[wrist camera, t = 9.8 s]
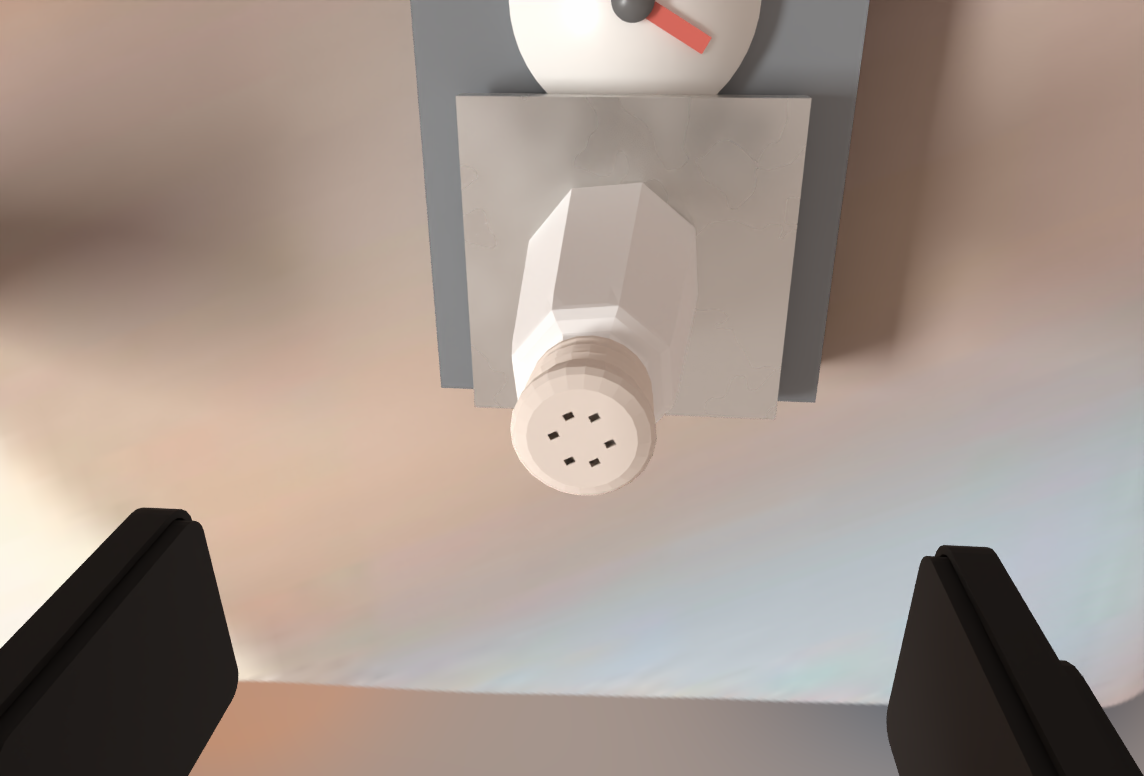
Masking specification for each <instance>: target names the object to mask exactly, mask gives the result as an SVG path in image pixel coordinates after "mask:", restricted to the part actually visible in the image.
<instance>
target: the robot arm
mask: <svg viewBox="0 0 1144 776" xmlns="http://www.w3.org/2000/svg"><path fill="white" fill-rule="evenodd" d="M237 684H238V668H237V664H236V660H235V656H234V652H233V647H232V643H231V639H230V635H229V631H228V627H227V623H226V619H225V615H224V611H223V607H222V603H221V599H220V595H219V591H218V587H217V583H216V579H215V575H214V571H213V567H212V563H211V558H210V554H209V550H208V546H207V542H206V538H205V534H204V530H203V528H202V525H201V524H200V523H199V522H197V521H192V519H191V516H190V515H189V514H188V513H187V511H184V510H182V509H163V508H139V509H137V510H135V511H134V512H133V513H131V514H130V515H129V516H128V517H127V518H126V520H125V521H124V522H123V523H122V524H121V525H120V526H119V527H118V528H117V529H116V530H115V531H114V532H113V533H112V534H111V535H110V536H109V537H108V538H107V539H106V540H105V541H104V542H103V543H102V544H101V545H100V546H99V547H98V548H97V549H96V550H95V552H94V553H93V554H92V555H91V556H90V557H89V558H88V559H87V560H86V561H85V562H84V563H83V564H82V565H81V566H80V567H79V568H78V569H77V570H76V571H75V572H74V573H73V574H72V575H71V576H70V577H69V578H68V579H67V580H66V581H65V583H64V584H63V585H62V586H61V587H60V588H59V589H58V590H57V591H56V592H55V593H54V594H53V595H52V596H51V597H50V598H49V599H48V600H47V601H46V602H45V603H44V604H43V605H42V606H41V607H40V608H39V609H38V610H37V611H36V612H35V613H34V615H33V616H32V617H31V618H30V619H29V620H28V621H27V622H26V623H25V624H24V625H23V626H22V627H21V628H20V629H19V630H18V631H17V632H16V633H15V634H14V635H13V636H12V637H11V638H10V639H9V640H8V641H7V642H6V643H5V644H4V646H3V647H2V648H1V649H0V776H188V775H189V773H190V772H191V770H192V768H193V766H194V765H195V763H196V761H197V759H198V758H199V756H200V754H201V753H202V751H203V749H204V747H205V746H206V744H207V742H208V741H209V739H210V737H211V735H212V734H213V732H214V730H215V728H216V727H217V725H218V723H219V722H220V720H221V718H222V717H223V715H224V713H225V711H226V709H227V708H228V706H229V704H230V703H231V701H232V699H233V697H234V695H235V692H236V689H237ZM887 732H888V738H889V743H890V746H891V750H892V753H893V756H894V759H895V763H896V766H897V769H898V772H899V776H1143V774H1142V773H1141V771H1140V769H1139V768H1138V766H1137V764H1136V763H1135V761H1134V760H1133V758H1132V756H1131V755H1130V753H1129V751H1128V750H1127V748H1126V746H1125V745H1124V743H1123V742H1122V740H1121V738H1120V737H1119V735H1118V733H1117V732H1116V730H1115V728H1114V727H1113V725H1112V724H1111V722H1110V720H1109V719H1108V717H1107V715H1106V714H1105V712H1104V710H1103V709H1102V707H1101V705H1100V704H1099V702H1098V701H1097V699H1096V697H1095V696H1094V694H1093V692H1092V691H1091V689H1090V687H1089V686H1088V684H1087V683H1086V681H1085V679H1084V678H1083V676H1082V675H1081V674H1080V672H1079V671H1078V670H1077V669H1076V667H1075V666H1074V665H1072V664H1070V663H1069V662H1067V661H1063V660H1059V659H1058V657H1057V656H1056V654H1055V652H1054V650H1053V649H1052V647H1051V645H1050V644H1049V642H1048V640H1047V639H1046V637H1045V635H1044V634H1043V632H1042V630H1041V628H1040V627H1039V625H1038V623H1037V622H1036V620H1035V618H1034V617H1033V615H1032V613H1031V612H1030V610H1029V608H1028V606H1027V605H1026V603H1025V601H1024V600H1023V598H1022V596H1021V595H1020V593H1019V591H1018V590H1017V588H1016V586H1015V585H1014V583H1013V581H1012V579H1011V578H1010V576H1009V574H1008V573H1007V571H1006V569H1005V568H1004V566H1003V564H1002V563H1001V561H1000V559H999V557H998V556H997V554H996V553H995V552H994V551H993V549H991V548H988V547H972V546H951V545H943V546H940V547H939V548H938V550H937V551H936V554H935V556H925V557H923V559H922V560H921V563H920V566H919V571H918V575H917V580H916V584H915V589H914V593H913V598H912V602H911V607H910V611H909V615H908V620H907V624H906V629H905V633H904V638H903V642H902V647H901V651H900V656H899V660H898V665H897V669H896V674H895V678H894V683H893V687H892V691H891V696H890V700H889V705H888V710H887Z"/></svg>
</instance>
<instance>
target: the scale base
mask: <svg viewBox="0 0 1144 776" xmlns="http://www.w3.org/2000/svg"><path fill="white" fill-rule="evenodd" d="M410 3H411V16H412V28H413V41H414V53H415V65H416V78H417V90H418V103H419V115H420V128H421V140H422V153H423V165H424V178H425V190H426V203H427V215H428V228H429V240H430V253H431V265H432V277H433V290H434V302H435V315H436V327H437V340H438V352H439V365H440V377H441V388H463V389H474V386H473V370H472V354H471V338H470V321H469V305H468V289H467V273H466V257H465V240H464V224H463V208H462V192H461V176H460V159H459V143H458V127H457V111H456V96H457V95H459V94H461V93H553V94H713V95H808V96H809V97H810V98H812V99H811V108H810V117H809V126H808V135H807V144H806V152H805V161H804V170H803V179H802V188H801V197H800V205H799V214H798V223H797V232H796V241H795V250H794V258H793V267H792V276H791V285H790V294H789V303H788V311H787V320H786V329H785V338H784V347H783V356H782V364H781V373H780V382H779V391H778V400H777V401H790V402H815V400H816V393H817V385H818V378H819V370H820V363H821V356H822V348H823V341H824V333H825V326H826V319H827V311H828V304H829V296H830V289H831V282H832V274H833V267H834V259H835V252H836V245H837V237H838V230H839V222H840V215H841V208H842V200H843V193H844V185H845V178H846V171H847V163H848V156H849V148H850V141H851V134H852V126H853V119H854V111H855V104H856V97H857V89H858V82H859V74H860V67H861V60H862V52H863V45H864V37H865V30H866V23H867V15H868V8H869V0H410Z"/></svg>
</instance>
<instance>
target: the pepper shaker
mask: <svg viewBox="0 0 1144 776" xmlns="http://www.w3.org/2000/svg"><path fill="white" fill-rule="evenodd" d="M697 298H698V281H697V257H696V232H695V228H694V227H693V226H692V225H691V224H690V223H689V222H688V221H686V220H685V219H684V218H683V217H682V216H681V215H679V214H678V213H677V212H676V211H675V210H674V209H672V208H671V207H670V206H669V205H668V204H667V203H666V202H664V201H663V200H662V199H661V198H660V197H659V196H657V195H656V194H655V193H654V192H653V191H652V190H650V189H649V188H648V187H647V186H646V185H645V184H644V183H630V184H618V185H606V186H594V187H582V188H572V189H571V190H570V191H569V192H568V194H567V195H566V196H565V197H564V199H563V200H562V201H561V202H560V203H559V205H558V206H557V207H556V208H555V210H554V211H553V212H552V213H551V214H550V216H549V217H548V218H547V219H546V221H545V222H544V223H543V224H542V225H541V227H540V228H539V229H538V230H537V232H536V233H535V234H534V235H533V236H532V238H531V239H530V240H529V244H528V250H527V256H526V262H525V268H524V274H523V280H522V286H521V292H520V298H519V304H518V310H517V316H516V322H515V328H514V334H513V340H512V364H513V371H514V378H515V385H516V392H517V398H518V401H517V403H516V405H515V407H514V410H513V412H512V419H511V426H510V430H511V437H512V443H513V446H514V449H515V451H516V453H517V455H518V457H519V460H520V461H521V462H522V464H523V465H524V466H525V467H526V468H527V470H528V471H529V472H530V473H531V474H532V475H533V476H535V477H536V478H537V479H539V480H540V481H541V482H543V483H544V484H545V485H547V486H550V487H552V488H554V489H557V490H559V491H561V492H565V493H570V494H575V495H580V496H581V495H600V494H604V493H608V492H612V491H615V490H618V489H620V488H621V487H623V486H625V485H627V484H629V483H630V482H632V481H633V480H634V479H635V478H636V477H637V476H638V475H639V474H640V473H641V472H642V471H644V469H645V468H646V466H647V464H648V462H649V461H650V459H651V457H652V456H653V452H654V448H655V443H656V439H657V438H656V423H657V422H658V421H659V420H660V419H661V418H662V417H663V416H664V415H665V414H666V413H667V412H668V411H669V410H670V409H671V408H672V407H673V405H674V402H675V399H676V396H677V393H678V389H679V384H680V379H681V374H682V369H683V365H684V360H685V355H686V350H687V346H688V341H689V336H690V331H691V326H692V322H693V317H694V312H695V307H696V302H697Z"/></svg>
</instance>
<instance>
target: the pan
mask: <svg viewBox="0 0 1144 776" xmlns="http://www.w3.org/2000/svg"><path fill="white" fill-rule="evenodd" d="M811 99H812V98H810V97H809V96H808V95H713V94H553V93H461V94H459V95H457V96H456V111H457V127H458V143H459V159H460V176H461V192H462V208H463V224H464V240H465V257H466V273H467V289H468V305H469V321H470V338H471V354H472V370H473V386H474V402H475V407H485V408H509V409H514V407H515V405H516V403H517V401H518V398H517V392H516V385H515V378H514V371H513V364H512V340H513V334H514V328H515V322H516V316H517V310H518V304H519V298H520V292H521V286H522V280H523V274H524V268H525V262H526V256H527V250H528V244H529V240H530V239H531V238H532V236H533V235H534V234H535V233H536V232H537V230H538V229H539V228H540V227H541V225H542V224H543V223H544V222H545V221H546V219H547V218H548V217H549V216H550V214H551V213H552V212H553V211H554V210H555V208H556V207H557V206H558V205H559V203H560V202H561V201H562V200H563V199H564V197H565V196H566V195H567V194H568V192H569V191H570V190H571V189H572V188H582V187H594V186H606V185H618V184H630V183H644V184H645V185H646V186H647V187H648V188H649V189H650V190H652V191H653V192H654V193H655V194H656V195H657V196H659V197H660V198H661V199H662V200H663V201H664V202H666V203H667V204H668V205H669V206H670V207H671V208H672V209H674V210H675V211H676V212H677V213H678V214H679V215H681V216H682V217H683V218H684V219H685V220H686V221H688V222H689V223H690V224H691V225H692V226H693V227H694V228H695V232H696V257H697V281H698V298H697V302H696V307H695V312H694V317H693V322H692V326H691V331H690V336H689V341H688V346H687V350H686V355H685V360H684V365H683V369H682V374H681V379H680V384H679V389H678V393H677V396H676V399H675V402H674V405H673V407H672V408H671V409H670V410H669V411H668V412H667V413H666V414H665V415H676V416H700V417H724V418H748V419H772V420H775V417H776V409H777V400H778V391H779V382H780V373H781V364H782V356H783V347H784V338H785V329H786V320H787V311H788V303H789V294H790V285H791V276H792V267H793V258H794V250H795V241H796V232H797V223H798V214H799V205H800V197H801V188H802V179H803V170H804V161H805V152H806V144H807V135H808V126H809V117H810V108H811Z"/></svg>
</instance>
